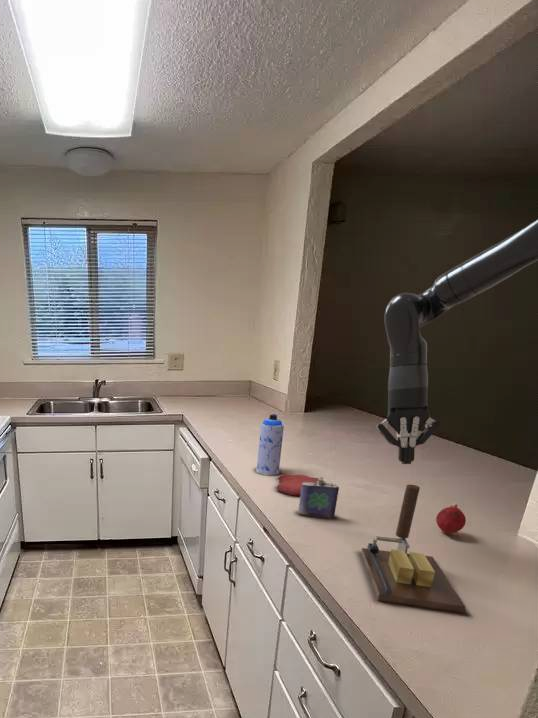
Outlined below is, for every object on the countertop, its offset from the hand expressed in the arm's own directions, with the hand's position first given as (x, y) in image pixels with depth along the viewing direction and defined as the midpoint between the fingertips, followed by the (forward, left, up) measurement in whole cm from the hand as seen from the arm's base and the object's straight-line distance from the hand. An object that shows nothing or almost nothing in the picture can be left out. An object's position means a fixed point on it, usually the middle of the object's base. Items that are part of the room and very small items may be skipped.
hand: (406, 463), depth 99 cm
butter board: (+1, +20, -19) cm, 27 cm away
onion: (-14, -5, -19) cm, 24 cm away
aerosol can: (+29, -41, -19) cm, 54 cm away
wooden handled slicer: (+4, +13, -17) cm, 22 cm away
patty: (+19, -28, -19) cm, 39 cm away
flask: (+16, -8, -19) cm, 27 cm away
